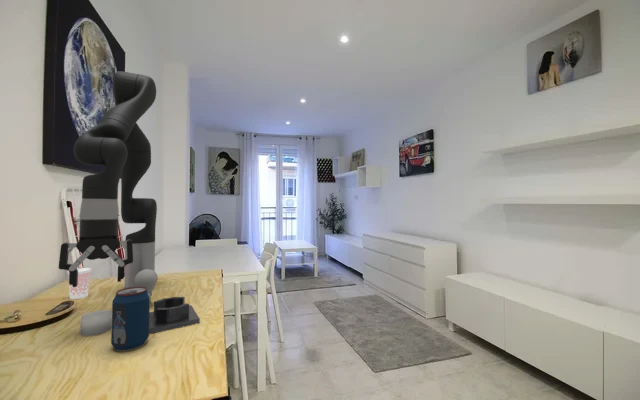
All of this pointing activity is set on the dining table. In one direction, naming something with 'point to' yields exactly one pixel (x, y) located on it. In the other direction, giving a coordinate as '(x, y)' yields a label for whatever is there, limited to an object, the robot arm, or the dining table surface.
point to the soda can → (130, 318)
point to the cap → (95, 322)
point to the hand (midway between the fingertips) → (97, 283)
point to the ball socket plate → (171, 314)
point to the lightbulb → (146, 280)
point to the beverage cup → (80, 284)
